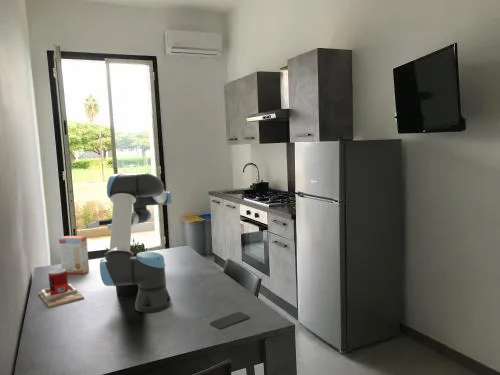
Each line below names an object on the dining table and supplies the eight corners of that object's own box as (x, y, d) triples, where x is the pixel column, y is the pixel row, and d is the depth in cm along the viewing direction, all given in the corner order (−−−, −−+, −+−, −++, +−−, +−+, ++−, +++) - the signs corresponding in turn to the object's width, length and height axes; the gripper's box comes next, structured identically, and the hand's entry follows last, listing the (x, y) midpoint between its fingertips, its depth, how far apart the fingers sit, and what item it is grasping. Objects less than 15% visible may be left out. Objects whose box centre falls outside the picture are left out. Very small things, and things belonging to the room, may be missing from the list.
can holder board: (84, 298, 184) (83, 293, 184) (48, 307, 175) (48, 302, 175) (71, 287, 201) (71, 282, 201) (38, 294, 192) (38, 289, 192)
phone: (208, 322, 153) (239, 311, 162) (208, 324, 153) (239, 313, 162) (219, 329, 147) (250, 316, 156) (219, 331, 147) (250, 318, 157)
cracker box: (89, 271, 227) (87, 235, 225) (83, 274, 222) (80, 238, 220) (68, 270, 231) (65, 235, 229) (61, 273, 225) (58, 237, 223)
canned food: (71, 289, 194) (69, 268, 193) (62, 296, 186) (60, 273, 185) (56, 289, 195) (54, 268, 194) (46, 295, 187) (44, 273, 186)
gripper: (146, 227, 215) (116, 235, 196) (112, 224, 227) (81, 232, 208) (145, 213, 215) (115, 220, 196) (111, 211, 226) (80, 218, 207)
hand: (98, 226), depth 202 cm, fingers open, 13 cm apart
